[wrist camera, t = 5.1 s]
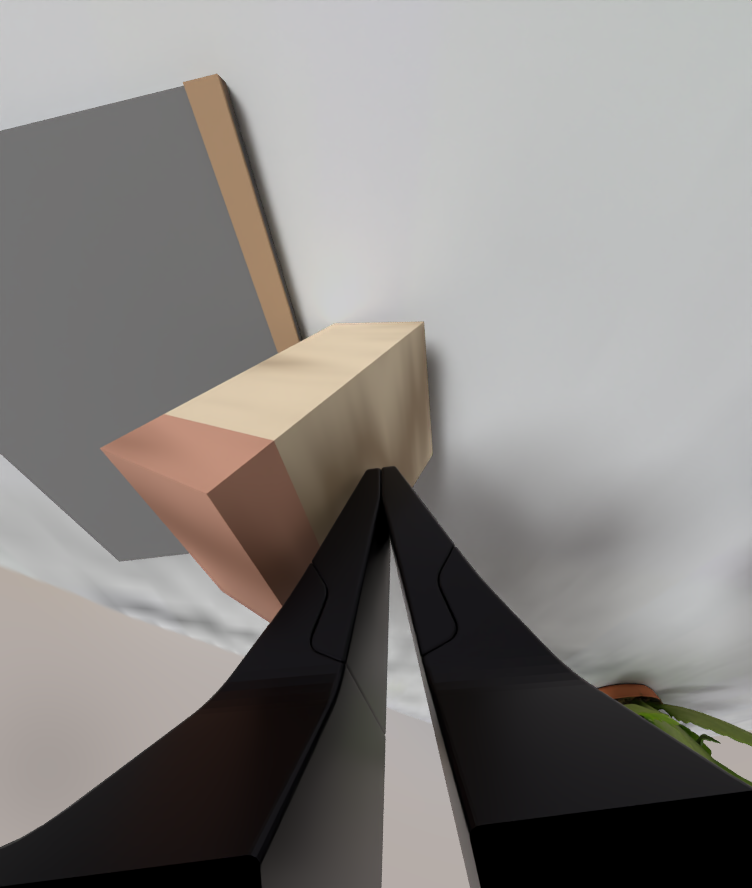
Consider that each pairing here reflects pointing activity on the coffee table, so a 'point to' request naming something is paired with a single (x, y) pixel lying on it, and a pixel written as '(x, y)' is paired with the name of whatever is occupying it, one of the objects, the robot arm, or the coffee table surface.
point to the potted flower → (648, 706)
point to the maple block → (283, 453)
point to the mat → (127, 291)
